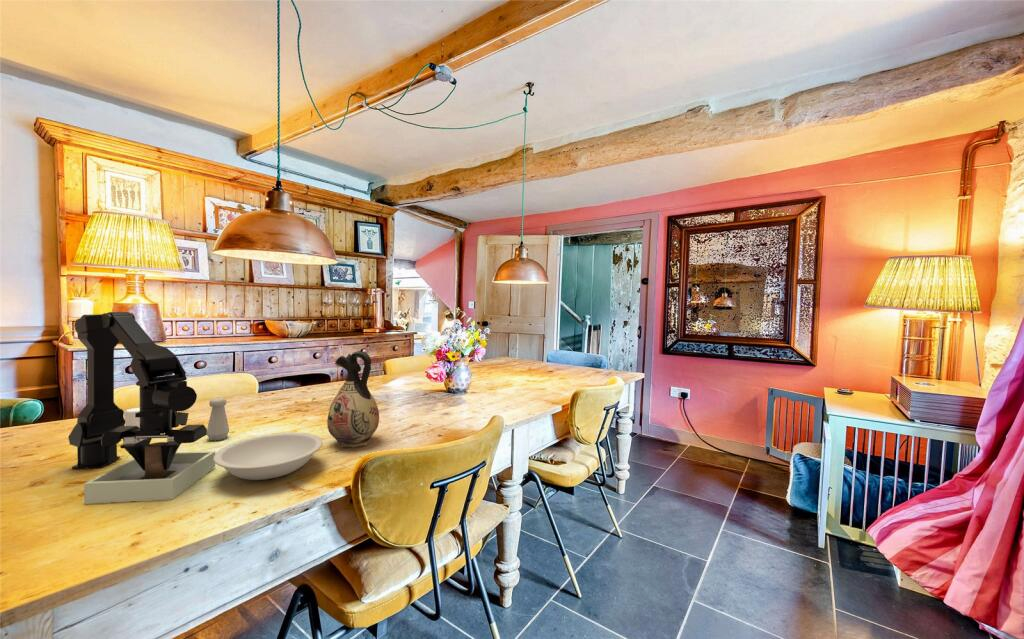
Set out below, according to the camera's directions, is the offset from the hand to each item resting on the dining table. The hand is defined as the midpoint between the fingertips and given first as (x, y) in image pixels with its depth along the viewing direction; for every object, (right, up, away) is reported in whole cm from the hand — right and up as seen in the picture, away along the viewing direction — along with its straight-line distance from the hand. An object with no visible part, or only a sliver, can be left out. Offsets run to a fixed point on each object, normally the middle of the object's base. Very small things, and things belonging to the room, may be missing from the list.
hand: (156, 469), depth 92 cm
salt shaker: (-8, -2, +30) cm, 31 cm away
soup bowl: (+22, -4, +8) cm, 24 cm away
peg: (0, -2, 0) cm, 2 cm away
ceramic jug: (+35, -4, +30) cm, 47 cm away
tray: (0, -4, 0) cm, 4 cm away
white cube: (-39, -1, +35) cm, 53 cm away
